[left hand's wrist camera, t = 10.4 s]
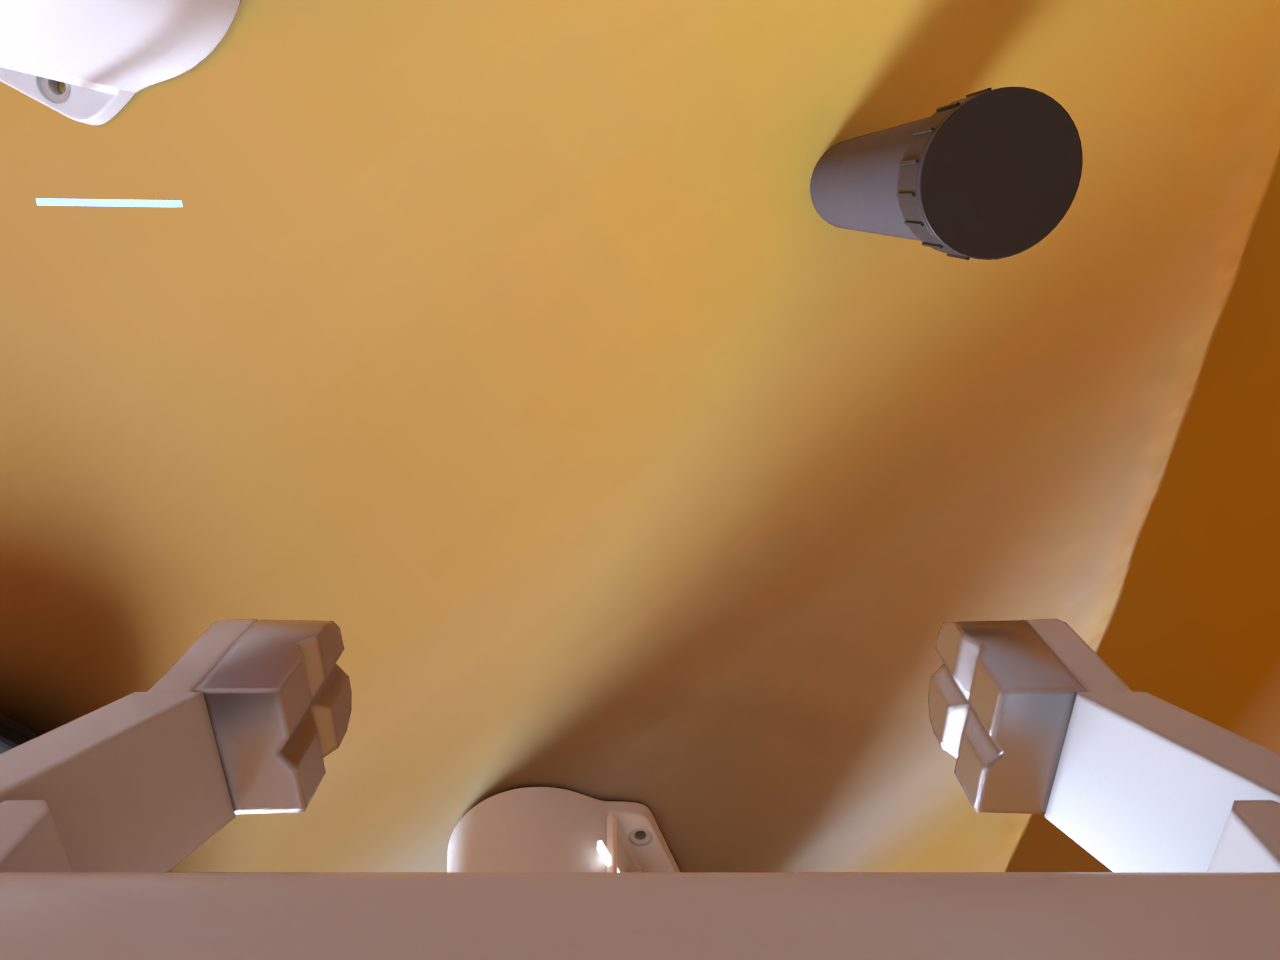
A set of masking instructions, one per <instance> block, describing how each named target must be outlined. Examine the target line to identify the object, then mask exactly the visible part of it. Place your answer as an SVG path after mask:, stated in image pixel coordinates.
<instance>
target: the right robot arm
mask: <svg viewBox="0 0 1280 960" xmlns="http://www.w3.org/2000/svg"><path fill="white" fill-rule="evenodd" d="M240 2H241V0H0V81H1V82H3V83H5V84H7V85H9V86H11V87H13V88H15V89H16V90H18V91H20V92H22V93H24V94H26V95H28V96H30V97H31V98H33V99H35V100H37V101H39V102H41V103H43V104H45V105H46V106H48V107H50V108H52V109H54V110H56V111H58V112H59V113H61V114H63V115H65V116H67V117H69V118H71V119H73V120H76V121H79V122H82V123H86V124H89V125H101V124H104V123H106V122H108V121H109V120H110V119H112V118H113V117H114V116H115V115H116V114H117V113H118V112H119V111H120V110H121V109H122V108H123V107H124V106H125V105H126V104H127V102H128V101H129V100H130V99H131V98H132V97H133V95H134V94H135V93H136V92H138V91H140V90H141V89H143V88H146V87H148V86H150V85H153V84H156V83H159V82H162V81H165V80H168V79H171V78H174V77H176V76H178V75H180V74H182V73H184V72H186V71H188V70H189V69H191V68H192V67H194V66H195V65H197V64H198V63H199V62H201V61H202V60H203V59H204V58H206V57H207V56H208V55H209V54H210V53H211V52H212V51H213V50H214V48H215V47H216V46H217V45H218V44H219V42H220V41H221V40H222V38H223V37H224V35H225V34H226V32H227V31H228V29H229V27H230V25H231V23H232V21H233V19H234V17H235V15H236V13H237V10H238V7H239V5H240ZM59 81H61V82H64V83H65V92H64V93H63V94H62V93H61V92H60V90H59V87H58V83H59ZM36 202H37V205H55V206H128V207H183V206H182V201H179V200H106V199H36Z"/></svg>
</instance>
